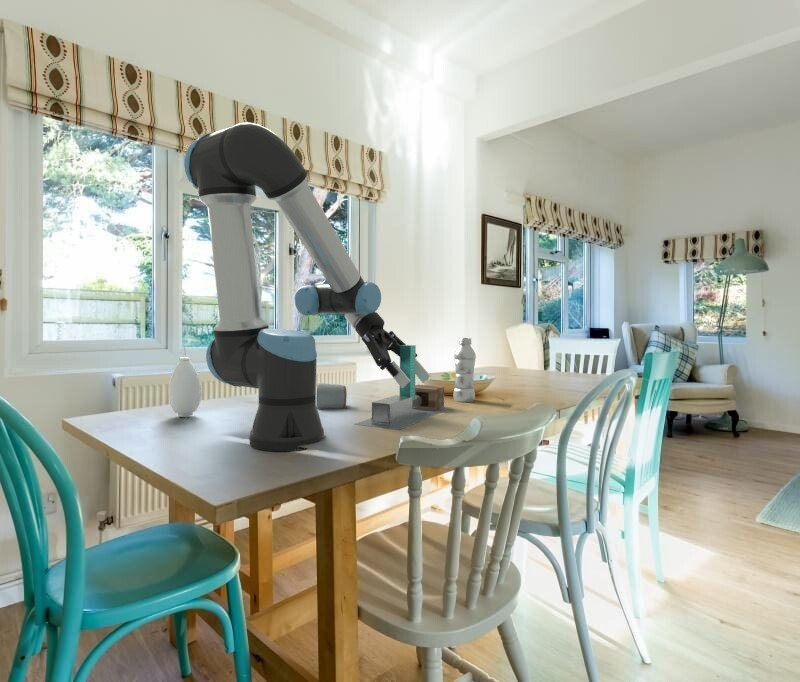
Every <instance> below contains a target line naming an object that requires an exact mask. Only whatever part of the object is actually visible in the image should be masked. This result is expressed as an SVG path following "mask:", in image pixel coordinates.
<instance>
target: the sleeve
mask: <svg viewBox="0 0 800 682" xmlns="http://www.w3.org/2000/svg"><path fill="white" fill-rule="evenodd" d="M371 418H372V424H374V425H382V426H392V425H394V424H397V423H399V422H402V421H404V420H407V419H409V418H412V397H408V396H400V395H396V394H395V395H392V396H388V397H386V398H382V399H378V400H375V401H372V402H371Z"/></svg>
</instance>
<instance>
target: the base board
mask: <svg viewBox="0 0 800 682" xmlns="http://www.w3.org/2000/svg"><path fill="white" fill-rule="evenodd" d="M450 409H452V407H449V406H444V407H443V408H441V409H439V410H436V411H432V410H422V409H412V418H409V419H407V420H404V421H402V422H399V423H397V424H394V425H392V426H382V425H374V424H372V417H371V418H368V419H364V420H363V421H359V422H357V423H354V425H357V426H363V427H364V426H365V427H374V428H381V429H389V430H396V431H397V430H398V431H400V430H403V429H406V428H407V427H410V426H412V425H415V424H417V423H419V422H421V421H424V420H426V419H429V418H431V417H433V416H436V415H438V414H441V413H443V412H444V411H445V412H446V410H450Z"/></svg>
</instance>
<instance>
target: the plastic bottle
mask: <svg viewBox="0 0 800 682" xmlns="http://www.w3.org/2000/svg"><path fill="white" fill-rule="evenodd" d="M472 344H473V343H472V337H458V345H459V346H458V348H457V349H456V351H455V352H454V356H453V357H454V364H455V382H454V383H455V384H454V387H453V388H454V389H453V394H452V396H453V400H454V401H455V402H458V403H473V402H474V401H475V398H476V393H475V391H476V390H475V385H474V384H475V383H474V381H475V380H474V371H475V364H476V359H477V355H476V352H475V350H474V349H473V348H472Z"/></svg>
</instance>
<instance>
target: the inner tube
mask: <svg viewBox="0 0 800 682" xmlns="http://www.w3.org/2000/svg"><path fill="white" fill-rule="evenodd" d="M416 346H417V345H415V344H414V345H412V344H406V345H400V357H399V367H400V369H401V370H402V371H403V372H404V373H405V375H406V376H407V377H408V378H409V379H410V382H409V383H408V384H407V385H406V386H405V387H404V388H401V386H400V385H399V396H408V397H412V409H413V408H416V407H418V406H420V405H421V404H422V398H421V397H420V396H418V395H416V396H415V386H416V374H415V363H416V359H417V357H416V354H417V353H416V350H417V349H416V348H417V347H416Z"/></svg>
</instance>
